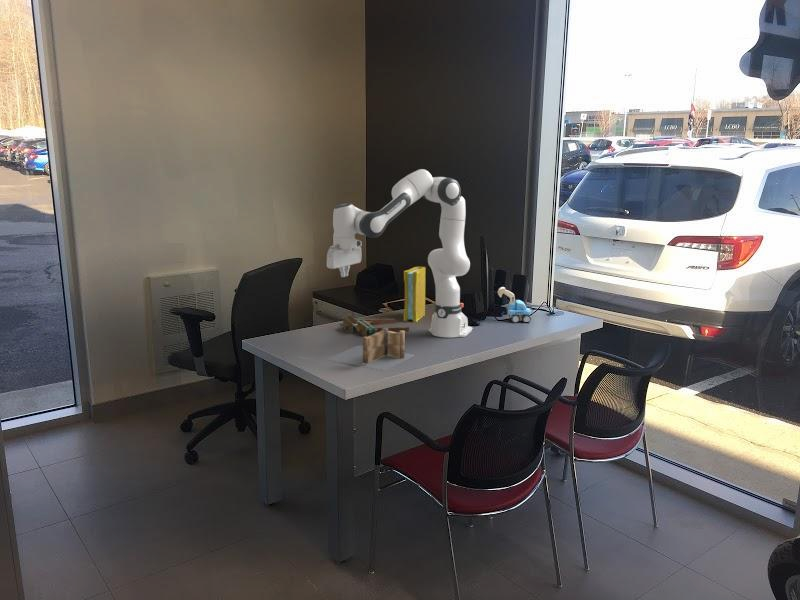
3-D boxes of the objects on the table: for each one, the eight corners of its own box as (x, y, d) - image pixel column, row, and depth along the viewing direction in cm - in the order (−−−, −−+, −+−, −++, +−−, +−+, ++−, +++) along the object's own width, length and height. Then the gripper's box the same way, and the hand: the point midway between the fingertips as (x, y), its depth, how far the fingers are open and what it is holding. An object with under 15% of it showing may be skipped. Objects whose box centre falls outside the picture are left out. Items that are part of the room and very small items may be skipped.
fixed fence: (381, 354, 270) (381, 328, 268) (384, 353, 272) (384, 327, 270) (402, 358, 265) (402, 332, 262) (405, 357, 267) (405, 330, 264)
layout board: (359, 346, 284) (359, 344, 284) (415, 356, 270) (415, 354, 270) (325, 360, 264) (325, 358, 264) (384, 371, 250) (384, 370, 250)
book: (416, 322, 326) (416, 272, 321) (403, 320, 329) (403, 271, 323) (427, 314, 342) (427, 267, 336) (415, 313, 344) (415, 266, 339)
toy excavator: (495, 318, 334) (497, 285, 330) (529, 319, 333) (530, 285, 330) (497, 323, 325) (499, 288, 322) (531, 323, 325) (533, 289, 321)
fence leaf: (381, 353, 269) (381, 329, 267) (385, 354, 268) (385, 329, 266) (361, 363, 256) (361, 337, 254) (366, 364, 255) (366, 338, 253)
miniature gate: (412, 326, 305) (350, 327, 294) (411, 337, 306) (350, 339, 295) (392, 313, 329) (334, 314, 318) (391, 324, 330) (333, 325, 319)
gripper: (335, 246, 261) (335, 281, 264) (364, 241, 278) (364, 273, 281) (322, 245, 264) (323, 279, 267) (351, 240, 281) (352, 272, 284)
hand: (344, 276), depth 274 cm, fingers closed
